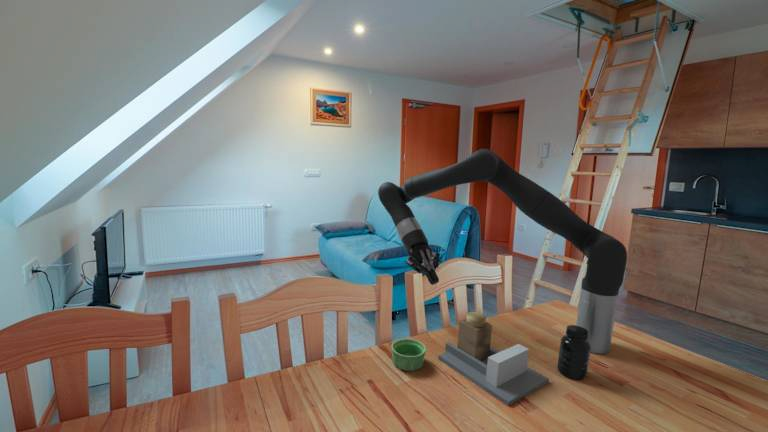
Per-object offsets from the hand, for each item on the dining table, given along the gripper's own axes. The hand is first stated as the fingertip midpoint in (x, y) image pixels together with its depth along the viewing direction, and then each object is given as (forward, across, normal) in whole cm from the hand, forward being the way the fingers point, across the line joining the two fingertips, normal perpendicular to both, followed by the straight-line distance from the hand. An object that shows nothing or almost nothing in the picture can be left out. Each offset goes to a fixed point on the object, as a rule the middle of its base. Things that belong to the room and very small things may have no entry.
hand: (435, 283), depth 108 cm
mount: (+27, 0, -4) cm, 27 cm away
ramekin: (+18, -16, +6) cm, 24 cm away
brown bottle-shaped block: (+22, 0, -1) cm, 22 cm away
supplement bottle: (+36, +17, -13) cm, 41 cm away
